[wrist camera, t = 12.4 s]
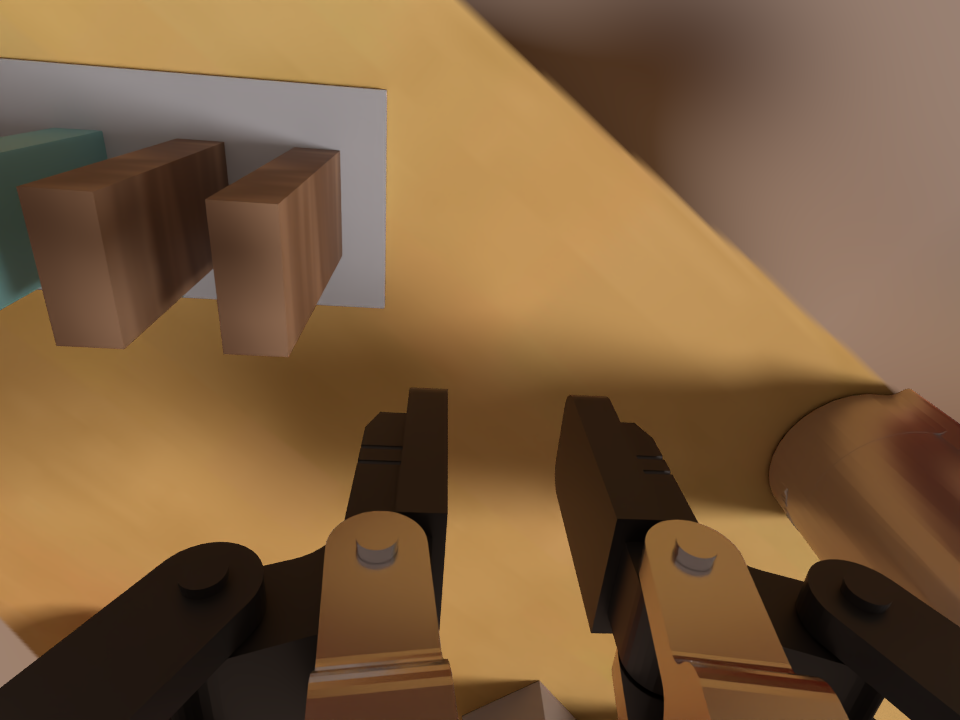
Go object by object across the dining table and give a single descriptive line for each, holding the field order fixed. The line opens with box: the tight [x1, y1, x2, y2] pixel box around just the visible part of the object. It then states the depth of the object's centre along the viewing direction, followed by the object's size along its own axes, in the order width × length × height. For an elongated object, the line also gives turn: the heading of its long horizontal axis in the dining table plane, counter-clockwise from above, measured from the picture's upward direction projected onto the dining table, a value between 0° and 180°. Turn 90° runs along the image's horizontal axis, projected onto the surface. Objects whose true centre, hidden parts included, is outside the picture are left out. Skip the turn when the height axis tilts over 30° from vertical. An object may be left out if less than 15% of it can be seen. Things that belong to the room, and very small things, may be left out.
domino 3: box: [205, 147, 342, 357], centre depth 23 cm, size 2×5×11 cm, turn 176°
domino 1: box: [0, 128, 108, 310], centre depth 22 cm, size 2×5×11 cm, turn 176°
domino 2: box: [16, 138, 229, 349], centre depth 23 cm, size 2×5×11 cm, turn 175°
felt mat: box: [0, 58, 387, 308], centre depth 27 cm, size 26×10×1 cm, turn 85°
